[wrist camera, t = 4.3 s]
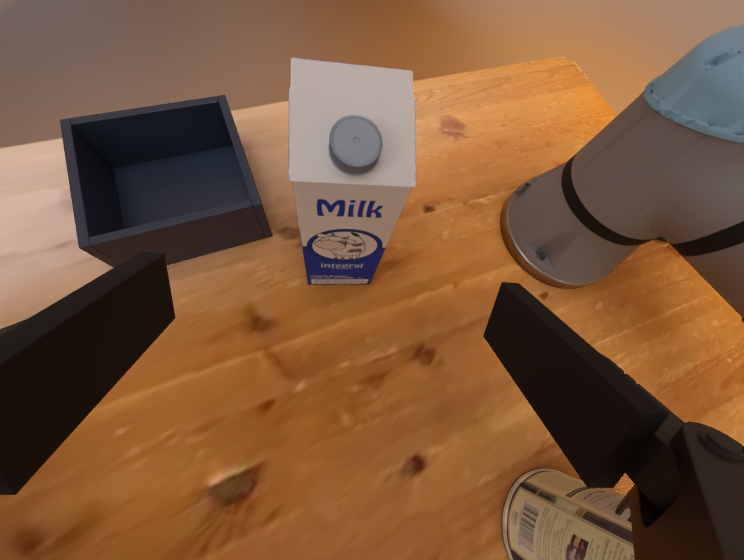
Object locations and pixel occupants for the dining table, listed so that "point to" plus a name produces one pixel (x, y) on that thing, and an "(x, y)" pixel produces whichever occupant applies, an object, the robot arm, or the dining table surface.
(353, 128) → the milk carton
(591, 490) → the coffee can
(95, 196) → the box
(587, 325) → the dining table surface
